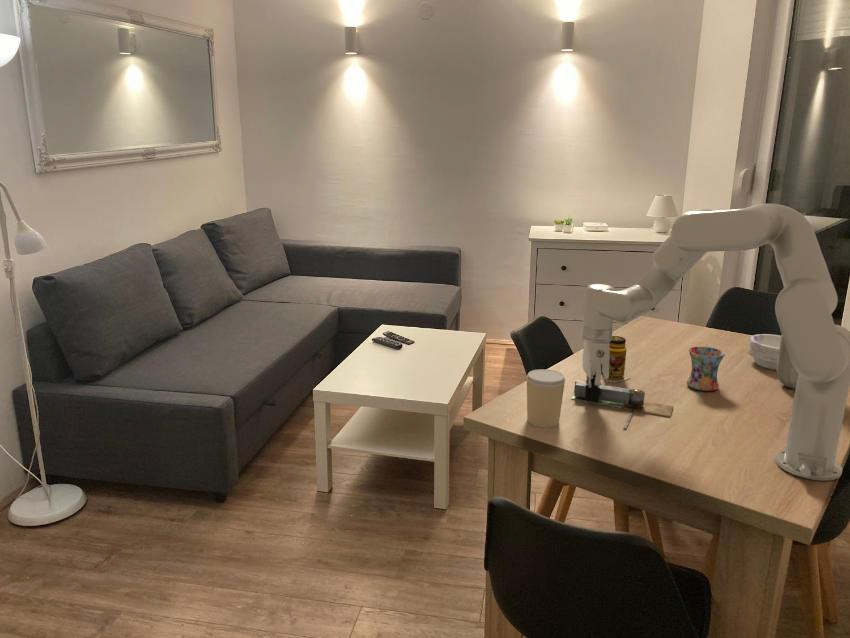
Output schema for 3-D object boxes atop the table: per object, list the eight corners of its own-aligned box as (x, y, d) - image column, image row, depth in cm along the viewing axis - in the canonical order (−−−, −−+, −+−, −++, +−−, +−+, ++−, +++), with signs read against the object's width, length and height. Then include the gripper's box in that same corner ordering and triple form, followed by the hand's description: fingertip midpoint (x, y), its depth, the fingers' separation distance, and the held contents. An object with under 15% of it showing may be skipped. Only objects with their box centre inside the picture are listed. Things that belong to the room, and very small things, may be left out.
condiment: (612, 383, 198) (616, 343, 195) (591, 374, 205) (594, 335, 202) (631, 378, 202) (634, 339, 199) (609, 370, 209) (612, 331, 206)
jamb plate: (663, 436, 164) (663, 435, 164) (611, 427, 169) (612, 425, 169) (673, 407, 182) (673, 406, 181) (625, 399, 186) (626, 398, 186)
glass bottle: (817, 395, 191) (834, 296, 184) (775, 390, 194) (791, 292, 187) (810, 383, 200) (827, 288, 193) (771, 378, 203) (786, 284, 196)
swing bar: (644, 401, 183) (645, 388, 182) (642, 407, 179) (644, 393, 178) (576, 391, 189) (577, 378, 188) (574, 396, 186) (575, 383, 185)
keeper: (623, 408, 181) (624, 396, 180) (569, 398, 186) (570, 387, 186) (628, 398, 188) (629, 386, 187) (576, 389, 193) (577, 378, 192)
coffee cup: (567, 418, 174) (571, 373, 171) (554, 432, 166) (557, 384, 163) (532, 410, 179) (535, 366, 175) (518, 423, 171) (520, 377, 168)
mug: (714, 396, 190) (719, 359, 187) (679, 388, 195) (684, 352, 192) (726, 384, 199) (731, 348, 196) (693, 376, 204) (698, 342, 201)
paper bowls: (808, 375, 207) (813, 350, 205) (754, 372, 209) (758, 346, 207) (791, 359, 221) (795, 335, 219) (740, 356, 223) (743, 332, 221)
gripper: (619, 342, 170) (613, 411, 175) (604, 325, 185) (599, 390, 190) (588, 341, 170) (583, 411, 175) (576, 324, 185) (571, 389, 190)
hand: (591, 400), depth 182 cm, fingers closed
